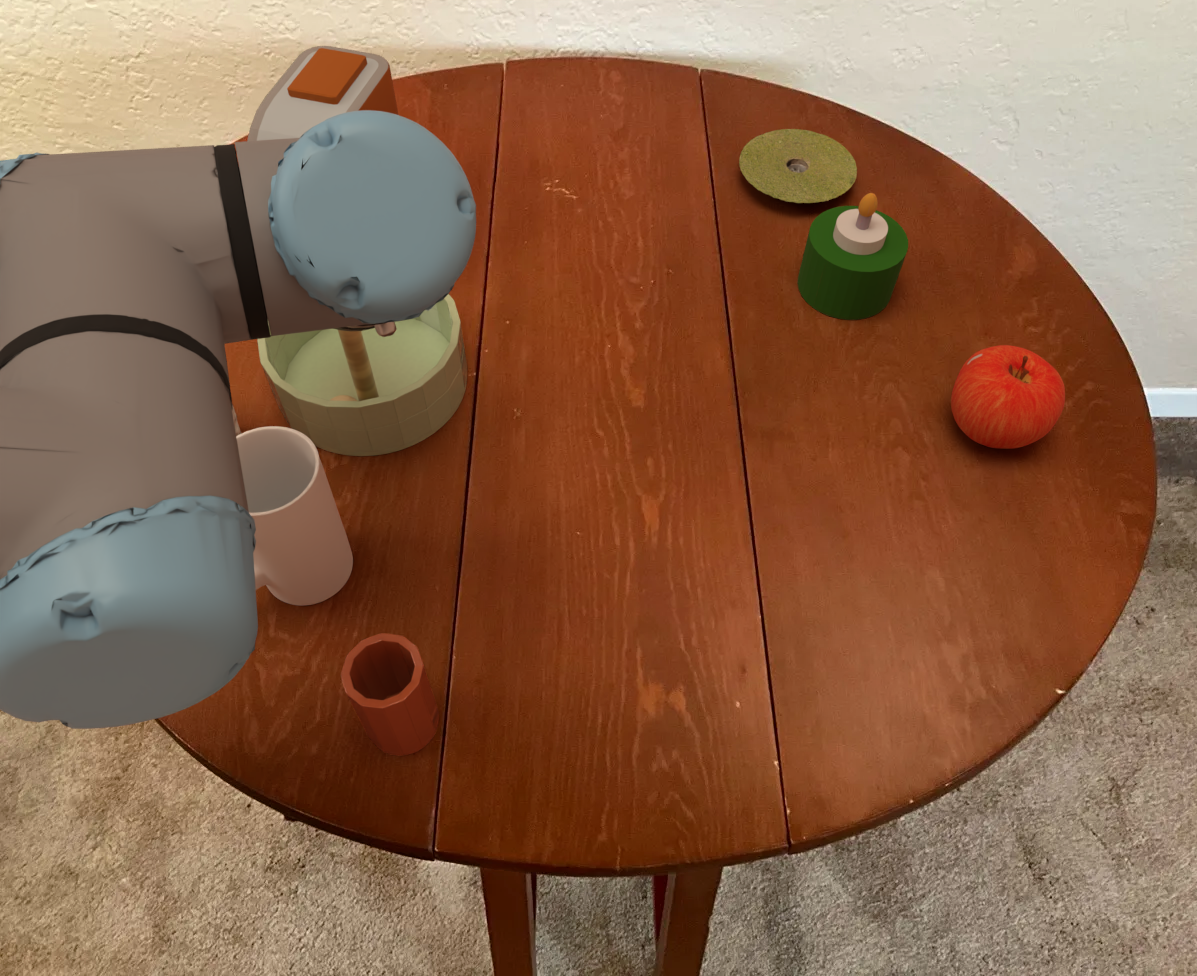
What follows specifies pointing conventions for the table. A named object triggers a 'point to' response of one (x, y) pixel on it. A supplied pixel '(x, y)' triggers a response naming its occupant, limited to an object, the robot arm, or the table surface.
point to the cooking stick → (359, 364)
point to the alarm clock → (323, 92)
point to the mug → (293, 517)
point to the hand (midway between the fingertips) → (331, 287)
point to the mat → (798, 166)
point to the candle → (852, 260)
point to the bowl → (401, 372)
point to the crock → (391, 693)
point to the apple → (1007, 397)
